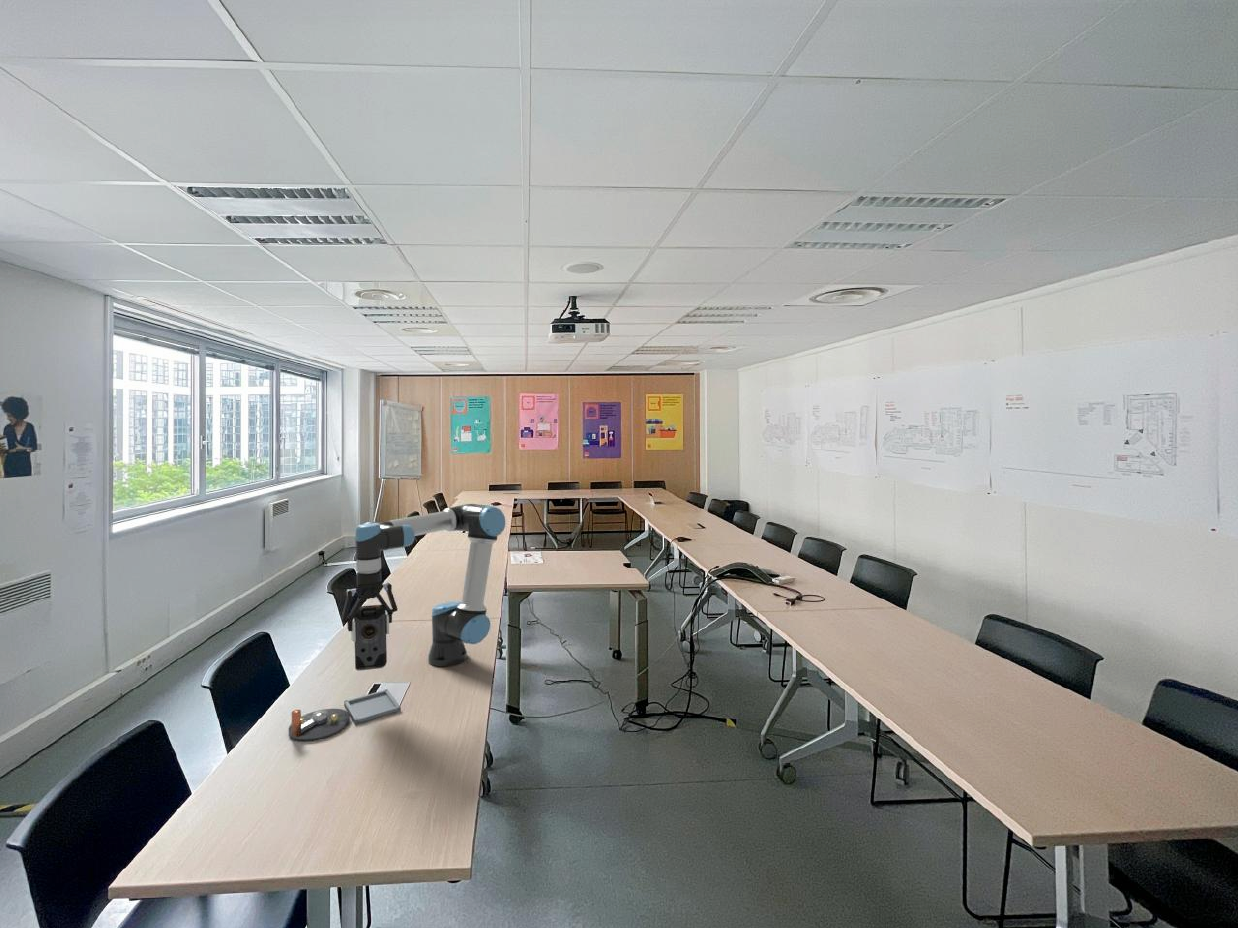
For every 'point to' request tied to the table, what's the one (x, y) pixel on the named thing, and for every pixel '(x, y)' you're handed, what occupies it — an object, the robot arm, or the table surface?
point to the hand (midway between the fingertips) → (370, 636)
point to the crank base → (323, 726)
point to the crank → (316, 719)
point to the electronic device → (370, 637)
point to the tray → (372, 706)
